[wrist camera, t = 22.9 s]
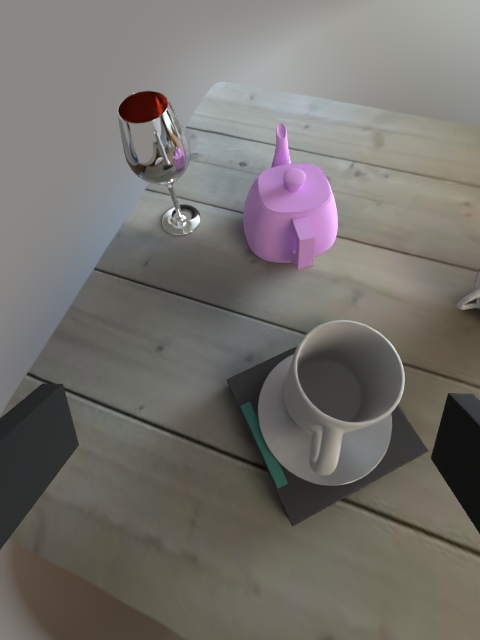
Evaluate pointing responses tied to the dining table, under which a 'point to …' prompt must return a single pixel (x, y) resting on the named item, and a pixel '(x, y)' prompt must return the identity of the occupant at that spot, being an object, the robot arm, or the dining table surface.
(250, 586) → the dining table surface
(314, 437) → the mug
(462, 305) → the teacup
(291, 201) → the teapot
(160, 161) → the wineglass
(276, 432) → the scale pan
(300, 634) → the dining table surface
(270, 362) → the scale
